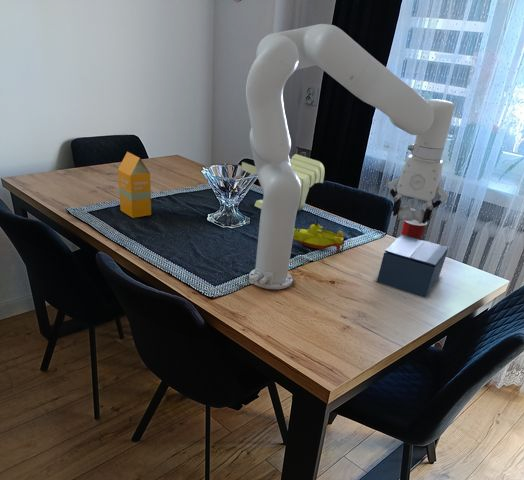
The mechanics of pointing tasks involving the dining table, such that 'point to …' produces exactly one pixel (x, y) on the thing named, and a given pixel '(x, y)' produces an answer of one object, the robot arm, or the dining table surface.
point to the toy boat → (319, 237)
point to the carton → (413, 269)
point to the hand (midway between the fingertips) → (410, 218)
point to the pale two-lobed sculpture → (410, 214)
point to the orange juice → (134, 187)
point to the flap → (404, 246)
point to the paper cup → (413, 229)
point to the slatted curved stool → (304, 169)
